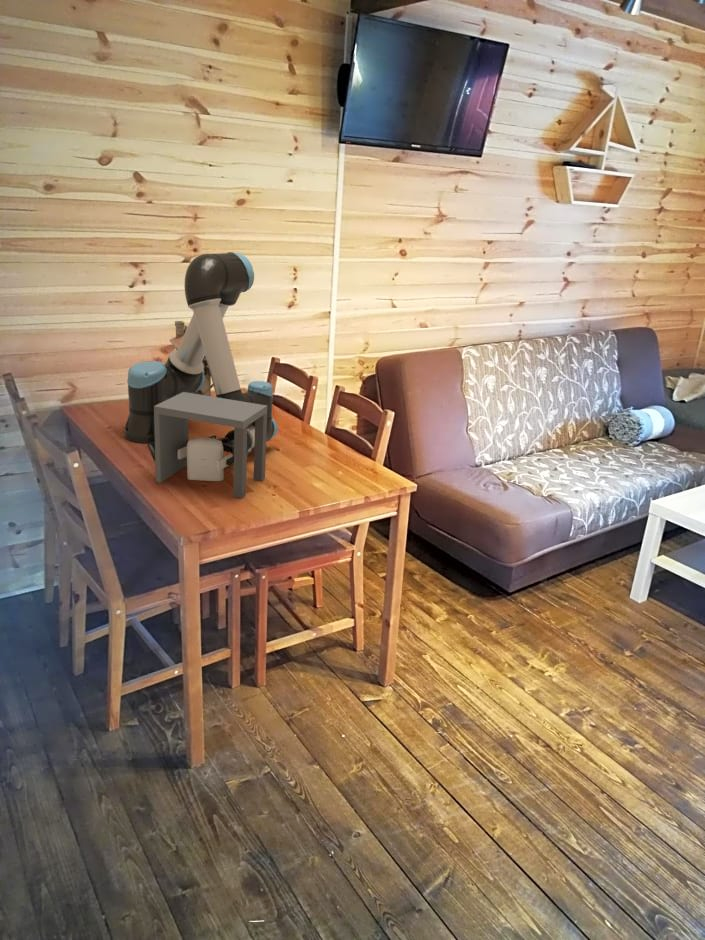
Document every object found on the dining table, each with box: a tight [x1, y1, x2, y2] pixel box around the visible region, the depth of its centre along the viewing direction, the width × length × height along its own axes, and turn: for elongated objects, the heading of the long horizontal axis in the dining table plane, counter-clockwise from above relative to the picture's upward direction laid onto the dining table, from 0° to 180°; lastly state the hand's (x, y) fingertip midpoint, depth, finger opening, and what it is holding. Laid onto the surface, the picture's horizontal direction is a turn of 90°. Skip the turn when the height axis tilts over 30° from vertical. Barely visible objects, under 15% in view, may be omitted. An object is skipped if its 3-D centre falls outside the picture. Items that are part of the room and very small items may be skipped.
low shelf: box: [154, 392, 267, 499], centre depth 201 cm, size 26×16×22 cm, turn 74°
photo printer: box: [186, 436, 224, 482], centre depth 203 cm, size 10×4×12 cm, turn 91°
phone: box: [147, 442, 155, 462], centre depth 222 cm, size 8×1×15 cm
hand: (197, 460), depth 200 cm, fingers open, 13 cm apart
